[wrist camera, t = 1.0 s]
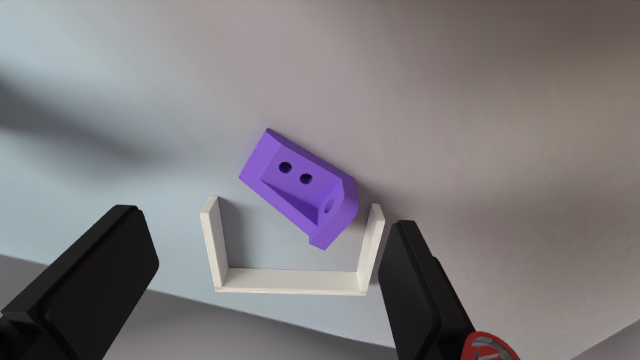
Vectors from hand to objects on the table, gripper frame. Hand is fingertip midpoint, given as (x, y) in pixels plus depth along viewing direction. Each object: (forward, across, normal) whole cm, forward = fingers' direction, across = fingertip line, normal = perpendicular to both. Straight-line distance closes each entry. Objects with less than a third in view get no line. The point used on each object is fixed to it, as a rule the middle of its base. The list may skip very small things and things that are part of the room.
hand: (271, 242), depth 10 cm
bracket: (+21, 0, +9) cm, 23 cm away
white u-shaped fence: (+21, 0, +20) cm, 28 cm away
